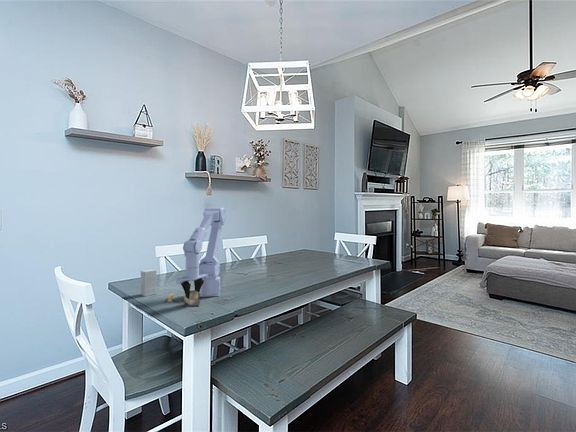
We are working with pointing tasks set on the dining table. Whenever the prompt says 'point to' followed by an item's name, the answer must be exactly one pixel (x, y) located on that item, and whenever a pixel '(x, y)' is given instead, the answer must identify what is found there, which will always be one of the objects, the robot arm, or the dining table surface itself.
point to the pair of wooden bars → (173, 297)
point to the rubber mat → (192, 304)
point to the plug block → (192, 297)
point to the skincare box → (148, 282)
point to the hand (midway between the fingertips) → (192, 296)
